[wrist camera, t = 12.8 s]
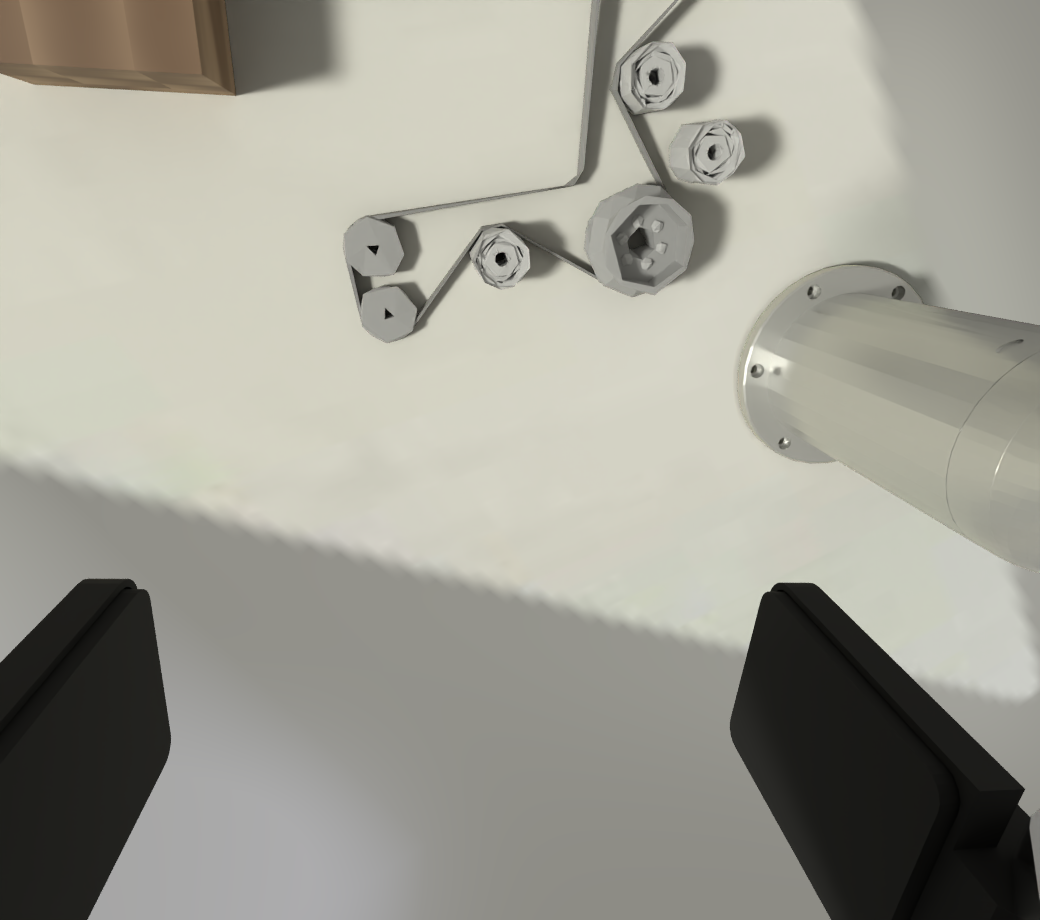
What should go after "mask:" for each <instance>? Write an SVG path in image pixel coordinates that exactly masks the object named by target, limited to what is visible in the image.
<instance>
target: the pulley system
mask: <svg viewBox="0 0 1040 920" xmlns="http://www.w3.org/2000/svg"><path fill="white" fill-rule="evenodd" d="M599 1H600V0H592V3H591V15H590V27H589V39H588V51H587V64H586V76H585V88H584V100H583V112H582V124H581V136H580V148H579V160H578V172H577V176H575V177H574V178H573V179H572V180H571V181H569V182H568V183H567V184H566V185H565V186H560V187H554V188H547V189H541V190H534V191H528V192H521V193H515V194H508V195H502V196H495V197H488V198H482V199H475V200H469V201H462V202H456V203H449V204H443V205H436V206H430V207H423V208H417V209H410V210H404V211H397V212H390V213H384V214H377V215H371V216H364V217H362V218H360V219H358V220H357V221H356V222H355V223H353V224H352V225H351V226H350V227H349V228H348V230H347V232H346V233H345V234H344V240H343V250H344V255H345V259H346V263H347V267H348V271H349V275H350V279H351V283H352V287H353V291H354V295H355V299H356V303H357V307H358V311H359V315H360V319H361V323H362V327H363V328H364V329H365V330H366V331H367V332H368V333H369V334H371V335H372V336H373V337H375V338H377V339H379V340H381V341H383V342H385V343H390V342H393V341H397V340H399V339H402V338H404V337H405V336H407V335H408V334H409V333H411V332H412V331H413V328H414V326H415V325H416V324H417V322H418V321H419V319H420V318H421V317H422V315H423V314H424V312H425V311H426V309H427V308H428V307H429V305H430V304H431V302H432V301H433V299H434V298H435V297H436V295H437V294H438V292H439V291H440V289H441V288H442V287H443V285H444V284H445V282H446V281H447V279H448V278H449V277H450V275H451V274H452V272H453V271H454V269H455V268H456V267H457V265H458V264H459V262H460V261H461V260H462V258H463V257H464V255H465V254H466V252H467V251H468V250H469V248H470V247H471V245H472V244H473V242H474V241H475V242H474V244H473V245H472V247H471V248H470V250H469V254H470V257H471V260H472V263H473V265H474V268H475V270H476V271H477V273H478V274H479V275H480V277H481V278H482V279H483V281H484V282H485V283H487V284H489V285H491V286H494V287H496V288H499V289H501V290H502V289H506V288H510V287H514V286H515V285H516V283H518V282H519V281H520V280H521V279H522V278H523V277H524V276H525V274H526V273H527V271H528V270H529V269H530V258H529V249H528V248H527V246H526V245H525V243H524V241H523V240H522V239H521V238H520V237H522V238H524V239H526V240H527V241H529V242H531V243H533V244H535V245H536V246H538V247H540V248H542V249H544V250H545V251H547V252H549V253H551V254H553V255H554V256H556V257H558V258H560V259H562V260H563V261H565V262H567V263H569V264H570V265H572V266H574V267H576V268H578V269H579V270H581V271H583V272H585V273H587V274H588V275H590V276H592V277H594V278H596V279H597V280H598V281H599V282H600V283H602V284H603V286H605V287H608V288H610V289H613V290H615V291H618V292H620V293H623V294H625V295H628V296H631V297H634V296H637V295H641V294H644V293H648V294H652V295H655V294H656V293H658V292H659V291H660V290H661V289H663V288H664V287H665V286H666V285H668V284H669V283H670V282H671V281H673V280H674V279H675V278H677V277H678V276H679V275H680V274H682V273H683V272H684V271H685V270H686V269H687V266H688V262H689V259H690V255H691V251H692V248H693V244H694V233H693V225H692V216H691V214H690V213H688V212H687V211H686V210H685V209H684V208H683V207H682V206H681V205H679V204H678V203H677V202H676V201H675V200H674V199H673V198H672V197H671V196H670V195H669V194H668V193H667V191H666V189H665V187H664V185H663V183H662V181H661V179H660V177H659V175H658V173H657V171H656V169H655V167H654V165H653V163H652V160H651V158H650V156H649V154H648V152H647V150H646V148H645V146H644V144H643V142H642V140H641V138H640V136H639V134H638V132H637V130H636V128H635V126H634V124H633V122H632V120H631V118H630V116H629V114H628V111H629V112H630V113H631V114H632V115H637V114H644V113H647V112H653V111H658V110H663V109H666V108H667V107H668V106H670V105H671V104H672V103H673V102H674V101H675V100H676V99H677V98H678V97H679V96H680V94H681V93H682V92H683V90H684V83H685V76H686V62H685V61H684V59H683V58H682V56H681V54H680V53H679V51H678V50H677V48H676V47H675V45H674V44H673V42H662V41H659V42H655V41H652V42H650V43H648V44H646V45H644V46H642V47H640V48H638V49H636V50H634V49H635V48H636V47H637V46H638V45H639V44H640V43H641V42H642V41H643V39H644V38H645V37H646V36H647V35H648V34H649V33H650V32H651V30H652V29H653V28H654V27H655V26H656V25H657V24H658V23H659V22H660V20H661V19H662V18H663V17H664V16H665V15H666V14H667V13H668V11H669V10H670V9H671V8H672V7H673V6H674V5H675V4H676V2H677V1H678V0H675V1H674V2H673V3H672V4H671V5H670V6H669V7H668V8H667V10H666V11H665V12H664V13H663V14H662V15H661V16H660V17H659V18H658V19H657V20H656V21H655V22H654V24H653V25H652V26H651V27H650V28H649V29H648V30H647V31H646V32H645V33H644V34H643V35H642V37H641V38H640V39H639V40H638V41H637V42H636V43H635V44H634V45H633V46H632V47H631V48H630V49H629V51H628V52H627V53H626V54H625V55H624V56H623V57H622V58H621V59H620V60H619V61H618V62H617V64H616V68H615V72H614V76H613V80H612V84H611V88H610V90H611V92H612V94H613V96H614V98H615V100H616V102H617V105H618V107H619V109H620V111H621V113H622V115H623V117H624V119H625V121H626V123H627V125H628V127H629V129H630V131H631V133H632V135H633V137H634V139H635V141H636V144H637V146H638V148H639V150H640V152H641V154H642V156H643V158H644V160H645V162H646V164H647V166H648V168H649V170H650V172H651V174H652V176H653V178H654V179H655V181H656V183H657V185H658V186H655V185H644V184H638V183H637V184H635V185H633V186H631V187H629V188H626V189H624V190H623V191H621V192H618V193H616V194H614V195H613V196H610V197H609V198H607V199H605V200H603V201H600V202H599V204H598V206H597V208H596V210H595V212H594V214H593V216H592V217H591V218H590V219H589V221H588V226H587V228H586V236H585V245H584V250H585V252H586V255H587V257H588V259H589V261H590V263H591V266H592V268H593V270H594V272H595V274H596V275H594V274H592V273H590V272H588V271H587V270H585V269H583V268H581V267H579V266H578V265H576V264H574V263H572V262H570V261H569V260H567V259H565V258H563V257H561V256H560V255H558V254H556V253H554V252H552V251H551V250H549V249H547V248H545V247H543V246H542V245H540V244H538V243H536V242H534V241H533V240H531V239H529V238H527V237H525V236H524V235H522V234H520V233H518V232H516V231H515V230H513V229H511V228H509V227H507V226H506V225H504V224H495V225H488V226H482V227H481V228H480V229H479V231H478V232H477V233H476V235H475V236H474V238H473V239H472V240H471V242H470V243H469V244H468V246H467V247H466V248H465V250H464V251H463V253H462V254H461V255H460V257H459V258H458V259H457V261H456V262H455V263H454V265H453V266H452V268H451V269H450V270H449V272H448V273H447V274H446V276H445V277H444V278H443V280H442V281H441V283H440V284H439V285H438V287H437V288H436V289H435V291H434V292H433V294H432V295H431V296H430V298H429V299H428V300H427V302H426V303H425V304H424V306H423V307H422V309H421V310H420V311H419V313H418V314H417V315H416V313H417V308H416V307H415V305H414V304H413V303H412V301H411V300H410V298H409V297H408V296H407V295H406V293H405V292H404V291H403V290H402V289H400V288H399V287H397V286H396V287H390V286H388V285H383V286H380V287H378V288H374V289H372V290H370V291H368V292H366V293H364V294H363V298H362V303H361V305H360V300H359V296H358V291H357V287H356V282H355V278H354V274H353V269H352V266H353V267H354V268H355V269H356V270H357V271H358V272H359V273H360V274H361V275H362V276H389V275H394V274H395V272H396V270H397V268H398V266H399V264H400V262H401V260H402V258H403V256H404V252H403V249H402V245H401V243H400V240H399V238H398V235H397V232H396V227H395V226H394V225H392V224H391V223H389V222H388V221H386V220H385V219H384V218H390V217H396V216H401V215H407V214H413V213H419V212H424V211H430V210H436V209H441V208H447V207H453V206H458V205H464V204H470V203H475V202H481V201H487V200H492V199H498V198H504V197H510V196H516V195H522V194H528V193H534V192H540V191H546V190H552V189H558V188H564V187H569V186H573V185H575V183H576V182H577V180H578V178H579V177H580V175H581V173H582V172H583V170H584V165H585V154H586V143H587V132H588V121H589V110H590V99H591V88H592V78H593V67H594V56H595V45H596V34H597V23H598V12H599ZM627 110H628V111H627ZM744 157H745V152H744V146H743V141H742V136H741V133H740V132H739V130H738V129H737V128H736V127H735V126H734V125H732V124H731V123H730V122H729V121H727V120H713V121H709V122H701V123H692V124H683V125H681V127H680V129H679V130H678V132H677V134H676V136H675V137H674V139H673V141H672V143H671V145H670V146H669V167H670V168H671V170H672V171H673V173H674V174H675V176H676V177H677V179H680V180H683V181H686V182H689V183H702V184H710V185H718V184H720V183H721V182H722V181H724V180H725V179H726V178H728V177H729V176H731V175H732V174H733V173H734V172H735V170H736V169H737V168H738V166H739V165H740V163H741V162H742V160H743V159H744ZM499 226H502V227H504V228H502V227H499ZM505 228H506V229H505ZM638 228H639V230H640V232H641V233H642V235H643V237H644V239H645V243H646V244H644V245H642V246H640V247H638V248H635V249H633V250H631V249H630V248H628V242H627V241H628V239H629V237H630V236H631V235H632V234H633V233H634V232H635V231H636V230H637V229H638ZM514 233H515V234H514ZM516 234H517V235H519V236H520V237H519V236H517V235H516ZM476 238H477V239H476ZM375 245H378V247H379V248H378V251H377V250H372V249H369V248H368V247H369V246H375ZM501 252H503V260H500V261H497V262H495V258H496V255H497V254H498V253H501ZM385 308H386V309H387V310H388V311H389V312H390V313H391V314H392V315H389V316H386V315H385Z"/></svg>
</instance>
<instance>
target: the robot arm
mask: <svg viewBox="0 0 1040 920" xmlns="http://www.w3.org/2000/svg"><path fill="white" fill-rule="evenodd" d="M808 289H809V291H808ZM807 291H808V293H807ZM753 366H754V368H753V370H752V371H751V369H752V367H753ZM737 392H738V397H739V403H740V408H741V411H742V413H743V416H744V418H745V421H746V423H747V425H748V426H749V427H750V429H751V430H752V432H753V433H754V435H755V436H756V437H757V438H758V439H759V440H760V441H762V442H763V443H764V444H765V445H766V446H767V447H769V448H770V449H772V450H773V451H775V452H776V453H778V454H779V455H782V456H784V457H786V458H789V459H791V460H794V461H799V462H805V463H830V462H834V461H839V462H840V463H842V464H844V465H845V466H847V467H849V468H850V469H852V470H854V471H855V472H857V473H859V474H860V475H862V476H864V477H865V478H867V479H868V480H870V481H872V482H873V483H875V484H877V485H878V486H880V487H882V488H883V489H885V490H887V491H888V492H890V493H892V494H893V495H895V496H897V497H898V498H900V499H902V500H903V501H905V502H907V503H908V504H910V505H912V506H913V507H915V508H917V509H918V510H920V511H922V512H923V513H925V514H927V515H928V516H930V517H932V518H933V519H935V520H937V521H938V522H940V523H942V524H943V525H945V526H947V527H948V528H950V529H952V530H953V531H955V532H956V533H958V534H960V535H962V536H963V537H965V538H967V539H968V540H970V541H972V542H973V543H975V544H977V545H978V546H980V547H982V548H984V549H986V550H987V551H989V552H991V553H992V554H994V555H996V556H997V557H999V558H1001V559H1003V560H1005V561H1007V562H1009V563H1011V564H1013V565H1016V566H1018V567H1021V568H1023V569H1026V570H1029V571H1032V572H1035V573H1039V574H1040V325H1034V324H1029V323H1023V322H1017V321H1012V320H1006V319H1001V318H996V317H990V316H985V315H979V314H974V313H968V312H963V311H957V310H952V309H946V308H941V307H935V306H930V305H924V303H923V301H922V299H921V297H920V296H919V295H918V294H917V292H916V291H915V290H914V289H913V288H912V287H911V285H910V284H909V283H907V282H906V281H904V280H903V279H902V278H900V277H899V276H897V275H896V274H894V273H891V272H888V271H886V270H883V269H881V268H876V267H870V266H863V265H841V266H835V267H830V268H825V269H822V270H820V271H817V272H815V273H812V274H810V275H807V276H805V277H804V278H802V279H800V280H799V281H797V282H796V283H794V284H792V285H791V286H789V287H788V288H787V289H786V290H784V291H783V292H782V293H781V294H780V295H779V296H778V297H776V298H775V299H774V300H773V301H772V302H771V303H770V305H769V306H768V307H767V308H766V310H765V311H764V312H763V313H762V314H761V316H760V317H759V318H758V320H757V322H756V324H755V325H754V327H753V329H752V330H751V332H750V334H749V336H748V338H747V341H746V343H745V346H744V349H743V351H742V354H741V359H740V364H739V369H738V383H737ZM730 731H731V737H732V741H733V743H734V745H735V747H736V749H737V751H738V753H739V754H740V756H741V758H742V760H743V762H744V764H745V765H746V767H747V769H748V771H749V772H750V774H751V776H752V778H753V779H754V782H755V783H756V785H757V787H758V789H759V790H760V792H761V794H762V796H763V798H764V800H765V801H766V803H767V805H768V807H769V808H770V810H771V812H772V814H773V816H774V817H775V819H776V821H777V823H778V825H779V826H780V828H781V830H782V832H783V834H784V835H785V837H786V839H787V841H788V843H789V844H790V846H791V848H792V850H793V852H794V853H795V855H796V857H797V859H798V860H799V862H800V864H801V866H802V868H803V870H804V871H805V873H806V875H807V877H808V879H809V880H810V882H811V884H812V886H813V888H814V889H815V891H816V893H817V895H818V897H819V898H820V900H821V902H822V904H823V906H824V907H825V909H826V911H827V913H828V914H829V916H830V918H831V920H1040V809H1039V810H1037V811H1036V812H1035V813H1034V814H1033V815H1032V816H1031V817H1029V816H1028V815H1027V814H1026V813H1025V812H1024V811H1023V810H1022V809H1021V808H1020V807H1019V806H1018V802H1019V800H1020V798H1021V796H1022V794H1023V792H1024V790H1025V789H1024V788H1023V787H1022V786H1021V785H1020V784H1019V783H1018V782H1017V781H1016V780H1015V779H1014V778H1013V777H1012V776H1011V775H1010V774H1009V773H1008V772H1007V771H1006V770H1005V769H1004V768H1003V767H1002V766H1001V765H1000V764H999V763H998V762H997V761H996V760H995V759H994V758H993V757H992V756H991V755H990V754H989V753H988V752H987V751H986V750H985V749H984V748H983V747H982V746H981V745H979V743H978V742H976V741H975V740H974V739H973V738H972V737H971V736H970V735H969V734H968V733H967V732H966V731H965V730H964V729H963V728H962V727H961V726H960V725H959V724H958V723H957V722H956V721H955V720H954V719H953V718H952V717H951V716H950V715H949V714H948V713H947V712H946V711H945V710H944V709H943V708H942V707H941V706H940V705H939V704H938V703H937V702H935V700H934V699H933V698H932V697H931V696H930V695H929V694H928V693H927V692H925V691H924V690H923V689H922V688H921V687H920V686H919V685H918V684H917V683H916V682H915V681H914V680H913V679H912V678H911V677H910V676H909V675H908V674H907V673H906V672H905V671H904V670H903V669H902V668H901V667H900V666H899V665H898V664H897V663H896V662H895V661H894V660H893V659H892V658H891V657H890V656H889V655H888V654H887V653H886V652H885V651H884V650H883V649H882V648H881V647H880V646H879V645H878V644H877V643H876V642H875V641H873V640H872V639H871V638H870V637H869V636H868V635H867V634H866V633H865V632H864V631H863V630H862V629H861V628H860V627H859V626H858V625H857V624H856V623H855V622H854V621H853V620H852V619H851V618H850V617H849V616H848V615H847V614H846V613H845V612H844V611H843V610H842V609H841V608H840V607H839V606H838V605H837V604H836V603H835V602H834V601H833V600H832V599H831V598H830V597H829V596H828V595H827V594H826V593H825V592H823V591H822V590H821V589H820V588H819V587H818V586H817V585H815V584H813V583H777V584H775V585H774V586H773V588H772V589H771V592H766V593H765V594H764V595H763V596H762V599H761V602H760V606H759V610H758V614H757V618H756V622H755V625H754V629H753V633H752V637H751V641H750V645H749V649H748V653H747V657H746V661H745V665H744V669H743V673H742V676H741V680H740V684H739V688H738V692H737V696H736V700H735V704H734V708H733V712H732V716H731V720H730ZM170 744H171V733H170V726H169V720H168V713H167V706H166V700H165V693H164V687H163V680H162V673H161V667H160V660H159V654H158V647H157V640H156V634H155V627H154V621H153V614H152V607H151V601H150V596H149V594H148V592H147V591H146V590H144V589H137V586H136V584H135V583H134V581H132V580H131V579H85V580H82V581H81V582H80V583H78V584H77V585H76V586H75V587H74V588H73V589H72V590H71V591H70V592H69V593H68V595H67V596H66V597H65V598H64V599H63V600H62V601H61V602H60V603H59V604H58V605H57V606H56V607H55V608H54V609H53V610H52V611H51V612H50V613H49V614H48V615H47V616H46V617H45V618H44V619H43V620H42V621H41V622H40V623H39V624H38V625H37V626H36V627H35V628H34V629H33V630H32V631H31V632H30V633H29V634H28V635H27V636H26V637H25V638H24V639H23V640H22V641H21V642H20V643H19V644H18V645H17V646H16V647H15V649H13V650H12V651H11V653H10V654H8V656H7V657H6V658H5V659H4V660H3V661H2V662H1V663H0V920H87V919H88V917H89V915H90V913H91V911H92V909H93V907H94V905H95V903H96V901H97V899H98V897H99V895H100V893H101V891H102V889H103V887H104V885H105V883H106V881H107V879H108V877H109V875H110V873H111V871H112V869H113V867H114V865H115V863H116V861H117V859H118V857H119V855H120V853H121V851H122V849H123V847H124V845H125V843H126V841H127V839H128V837H129V835H130V833H131V831H132V830H133V828H134V825H135V823H136V821H137V819H138V818H139V816H140V813H141V811H142V810H143V808H144V805H145V804H146V802H147V799H148V797H149V796H150V794H151V792H152V790H153V788H154V786H155V784H156V781H157V779H158V778H159V776H160V774H161V772H162V770H163V768H164V765H165V763H166V761H167V758H168V755H169V751H170Z"/></svg>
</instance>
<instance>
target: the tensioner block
mask: <svg viewBox="0 0 1040 920" xmlns="http://www.w3.org/2000/svg"><path fill="white" fill-rule="evenodd" d="M0 73H1V74H4V75H7V76H10V77H13V78H16V79H19V80H22V81H25V82H28V83H31V84H35V85H53V86H71V87H89V88H107V89H125V90H143V91H161V92H179V93H197V94H215V95H233V96H236V91H235V83H234V74H233V66H232V57H231V49H230V40H229V32H228V23H227V15H226V7H225V0H0Z"/></svg>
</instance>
